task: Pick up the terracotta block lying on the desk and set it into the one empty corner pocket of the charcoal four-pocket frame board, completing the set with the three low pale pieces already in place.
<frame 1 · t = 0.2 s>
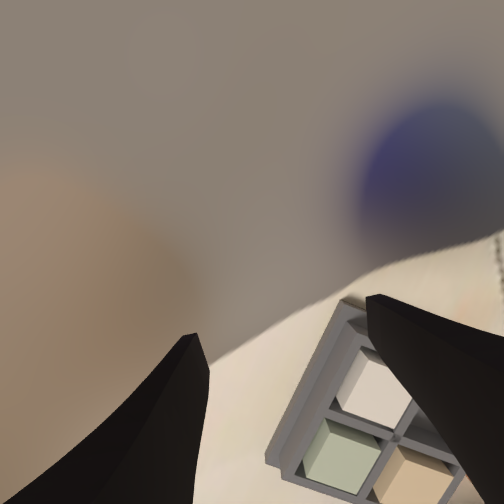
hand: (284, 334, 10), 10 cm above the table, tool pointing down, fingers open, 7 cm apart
frame board: (376, 409, 22), on the table
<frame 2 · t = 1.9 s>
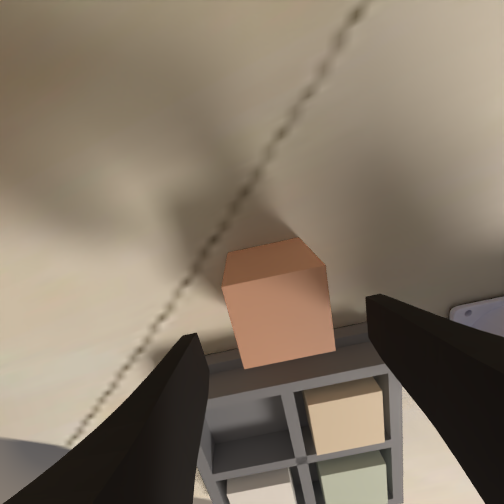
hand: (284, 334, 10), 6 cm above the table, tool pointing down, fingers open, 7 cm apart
terracotta block: (269, 277, 16), on the table
frame board: (292, 419, 19), on the table
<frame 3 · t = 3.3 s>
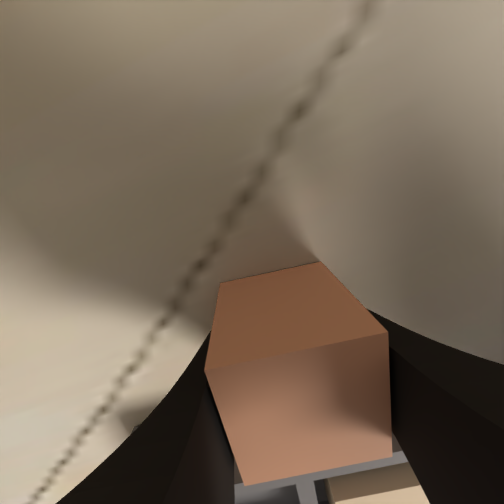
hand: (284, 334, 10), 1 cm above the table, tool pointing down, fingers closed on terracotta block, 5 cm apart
terracotta block: (279, 315, 11), on the table, touching gripper
frame board: (306, 487, 15), on the table
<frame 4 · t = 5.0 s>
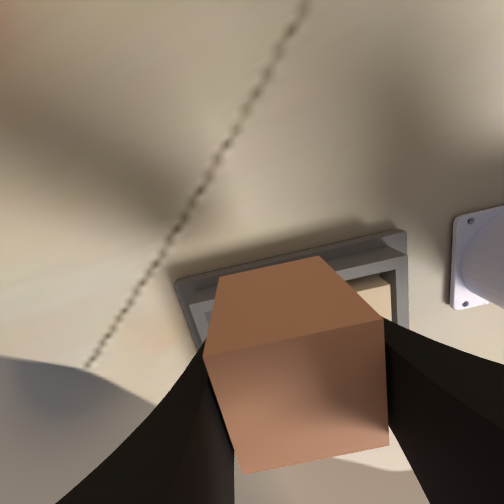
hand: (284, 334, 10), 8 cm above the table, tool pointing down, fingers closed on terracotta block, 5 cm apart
terracotta block: (277, 309, 11), point 7 cm above the table, touching gripper
frame board: (302, 340, 20), on the table
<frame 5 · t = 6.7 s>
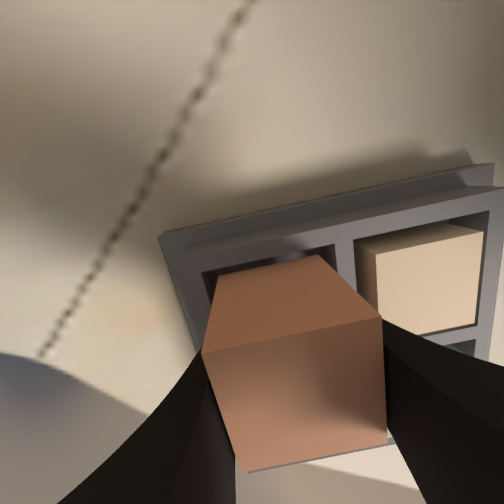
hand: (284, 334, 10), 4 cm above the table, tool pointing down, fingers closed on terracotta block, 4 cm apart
terracotta block: (276, 308, 11), point 3 cm above the table, touching gripper
frame board: (332, 323, 15), on the table
when the fingers open (4 cm above the table, at t = 6.9 s): terracotta block drops 2 cm, resting on frame board.
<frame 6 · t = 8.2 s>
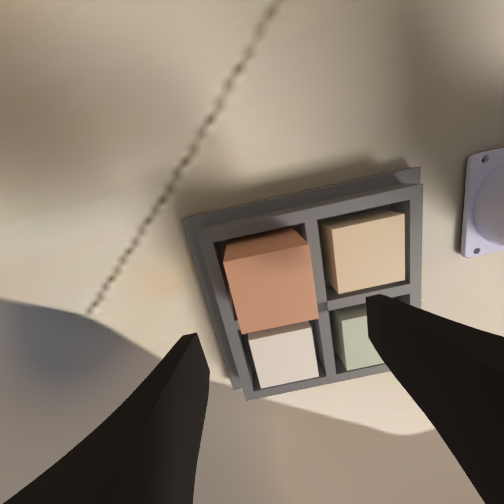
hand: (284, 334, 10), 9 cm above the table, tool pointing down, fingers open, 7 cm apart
terracotta block: (264, 261, 18), point 1 cm above the table, touching frame board
frame board: (310, 288, 20), on the table
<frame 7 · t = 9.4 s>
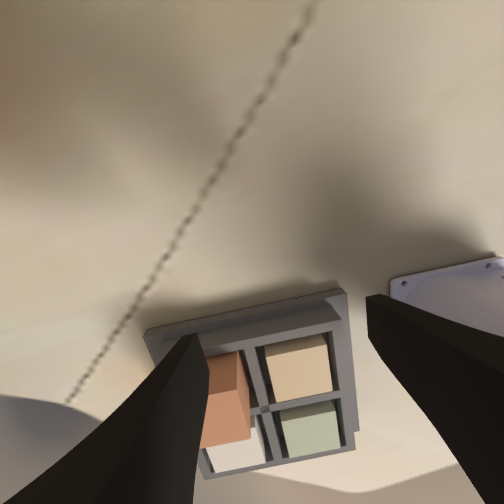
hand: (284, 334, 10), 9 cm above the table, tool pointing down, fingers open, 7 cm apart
terracotta block: (217, 365, 21), point 1 cm above the table, touching frame board
frame board: (261, 379, 23), on the table
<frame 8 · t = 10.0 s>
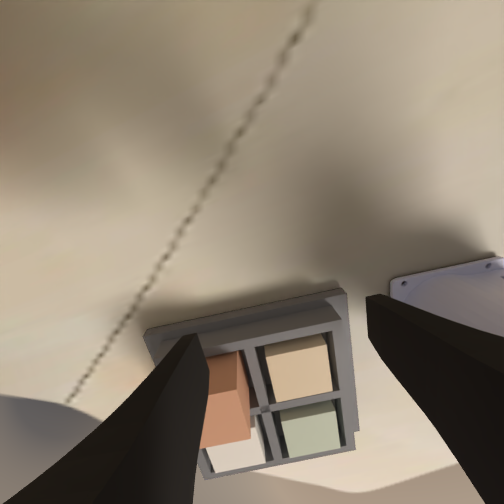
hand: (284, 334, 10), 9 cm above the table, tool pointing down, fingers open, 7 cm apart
terracotta block: (217, 365, 21), point 1 cm above the table, touching frame board
frame board: (261, 379, 23), on the table
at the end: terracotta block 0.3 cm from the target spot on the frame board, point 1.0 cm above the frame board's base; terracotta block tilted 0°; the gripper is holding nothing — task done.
